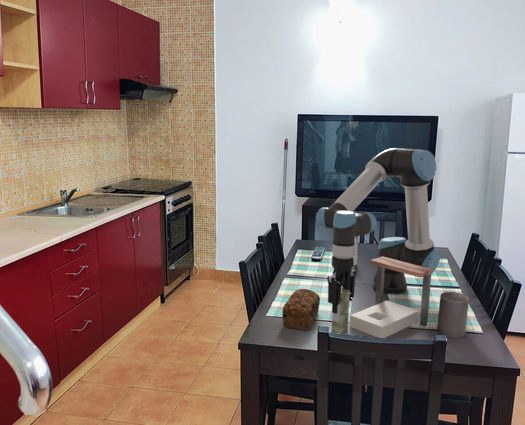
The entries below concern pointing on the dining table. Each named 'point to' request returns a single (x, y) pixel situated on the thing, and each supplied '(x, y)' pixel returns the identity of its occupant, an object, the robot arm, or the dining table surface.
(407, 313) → the socket stand
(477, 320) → the dining table surface
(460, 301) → the pillar candle
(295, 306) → the bread
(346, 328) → the peg
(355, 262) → the milk bottle
